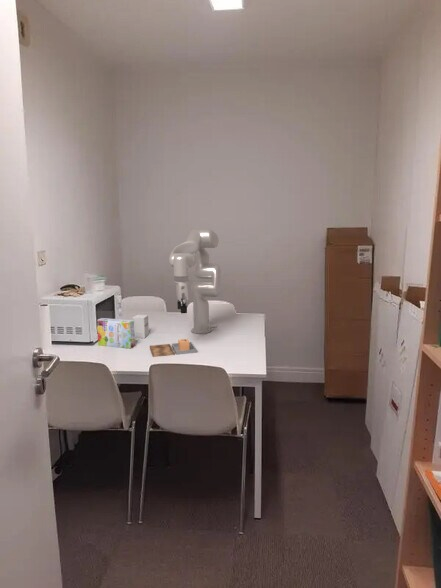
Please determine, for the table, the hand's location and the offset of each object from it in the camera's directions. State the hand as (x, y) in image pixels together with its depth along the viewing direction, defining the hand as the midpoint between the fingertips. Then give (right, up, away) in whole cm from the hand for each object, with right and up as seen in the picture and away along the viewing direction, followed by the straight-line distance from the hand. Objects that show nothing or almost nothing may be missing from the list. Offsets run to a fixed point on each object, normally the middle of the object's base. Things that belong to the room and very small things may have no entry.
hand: (182, 310), depth 236 cm
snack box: (-38, -20, +15) cm, 46 cm away
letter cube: (+1, -21, +4) cm, 21 cm away
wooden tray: (-11, -22, +1) cm, 25 cm away
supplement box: (-27, -17, +32) cm, 45 cm away
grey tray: (+1, -22, +4) cm, 22 cm away
